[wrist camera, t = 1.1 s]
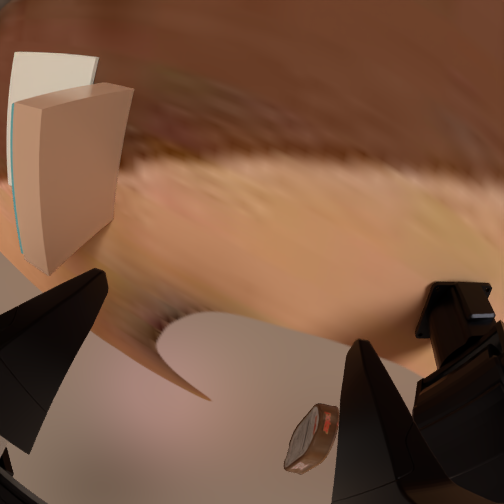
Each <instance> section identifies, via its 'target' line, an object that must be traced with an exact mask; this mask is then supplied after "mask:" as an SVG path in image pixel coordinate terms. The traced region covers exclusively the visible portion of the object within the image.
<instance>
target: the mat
mask: <svg viewBox="0 0 504 504" xmlns="http://www.w3.org/2000/svg"><path fill="white" fill-rule="evenodd" d="M98 60H99V57H92V56H83V55H74V54H62V53H45V52H15V54H14V60H13V66H12V73H11V81H10V89H9V100H8V115H7V169H8V184H9V185H11V186H12V179H11V158H10V130H11V109H12V104H13V103H14V102H17V101H21V100H24V99H28V98H31V97H35V96H39V95H43V94H47V93H51V92H55V91H60V90H65V89H69V88H74V87H80V86H85V85H91V84H93V82H94V77H95V73H96V68H97V64H98Z"/></svg>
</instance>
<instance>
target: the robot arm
mask: <svg viewBox="0 0 504 504" xmlns="http://www.w3.org/2000/svg"><path fill="white" fill-rule="evenodd" d="M437 287H439V288H438V289H436V288H437ZM491 290H492V287H491V285H490V284H489V283H474V282H436V283H434V284H433V285H432V287H431V290H430V293H429V296H428V299H427V302H426V305H425V307H424V310H423V313H422V315H421V318H420V321H419V323H418V326H417V328H416V331H415V336H416V338H430V340H431V344H432V348H433V352H434V357H435V361H436V366H437V370H436V371H435V372H433V373H432V374H430V375H429V376H427V377H426V378H422V379H421V380H419V381H418V382H417V388H416V396H415V402H414V407H413V411H412V416H411V414H410V412H409V410H408V408H407V406H406V405H405V403H404V401H403V399H402V397H401V395H400V394H399V392H398V390H397V388H396V387H395V385H394V383H393V381H392V380H391V378H390V376H389V374H388V372H387V371H386V369H385V367H384V366H383V364H382V362H381V360H380V358H379V357H378V355H377V353H376V352H375V350H374V348H373V347H372V345H371V343H370V342H369V341H368V340H365V339H357V340H356V341H355V342H354V344H353V345H352V347H351V348H350V350H349V351H348V353H347V356H346V362H345V369H344V376H343V383H342V390H341V398H340V415H339V432H338V446H337V457H336V468H335V478H334V486H333V494H332V503H331V504H504V323H503V322H502V321H501V320H499V321H498V322H497V323H496V321H495V319H494V318H495V313H494V311H493V309H492V307H491V305H490V303H489V301H488V297H489V295H490V292H491ZM107 293H108V283H107V278H106V273H105V272H104V271H103V270H100V269H97V268H94V269H92V270H89V271H87V272H85V273H83V274H81V275H79V276H77V277H75V278H73V279H71V280H68V281H66V282H64V283H62V284H60V285H58V286H56V287H54V288H52V289H50V290H48V291H46V292H44V293H42V294H40V295H38V296H36V297H34V298H32V299H30V300H28V301H26V302H24V303H22V304H21V305H19V306H17V307H15V308H13V309H11V310H9V311H7V312H5V313H3V314H1V315H0V504H47V503H46V502H45V501H43V500H42V499H40V498H39V497H38V496H36V495H35V494H33V493H32V492H31V491H29V490H28V489H27V488H25V487H24V486H23V485H22V484H20V483H19V482H18V481H17V480H15V479H14V478H13V474H14V473H13V470H12V466H11V462H10V458H9V454H8V450H7V448H6V445H7V443H8V442H10V443H12V444H13V445H15V446H16V447H18V448H19V449H21V450H22V451H24V452H25V453H27V454H30V452H31V450H32V447H33V444H34V442H35V440H36V437H37V435H38V432H39V430H40V428H41V426H42V423H43V421H44V419H45V417H46V415H47V412H48V410H49V408H50V406H51V403H52V401H53V399H54V397H55V395H56V393H57V391H58V389H59V387H60V385H61V383H62V381H63V379H64V377H65V375H66V373H67V371H68V369H69V367H70V365H71V364H72V362H73V360H74V358H75V356H76V354H77V352H78V351H79V349H80V347H81V345H82V344H83V342H84V340H85V338H86V336H87V335H88V333H89V331H90V329H91V328H92V326H93V324H94V322H95V319H96V317H97V315H98V313H99V311H100V308H101V306H102V304H103V302H104V300H105V298H106V296H107Z"/></svg>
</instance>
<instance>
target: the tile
mask: <svg viewBox="0 0 504 504" xmlns="http://www.w3.org/2000/svg"><path fill="white" fill-rule="evenodd" d="M133 92H134V89H132V88H128V87H124V86H120V85H115V84H111V83H106V82H104V83H98V84H91V85H85V86H80V87H74V88H69V89H65V90H60V91H55V92H51V93H47V94H43V95H39V96H35V97H31V98H28V99H24V100H21V101H17V102H14V103H13V104H12V109H11V130H10V158H11V179H12V192H13V202H14V211H15V218H16V225H17V232H18V238H19V243H20V249H21V253H22V254H23V255H24V259H25V260H26V261H27V262H29V263H30V264H32V265H33V266H34V267H36V268H37V269H39V270H40V271H42V272H43V273H45V274H46V275H48V276H50V275H51V274H52V273H53V272H54V271H55V270H56V269H57V268H58V267H59V266H61V265H62V264H63V263H64V262H65V261H66V260H67V259H68V258H69V257H70V256H71V255H72V254H73V253H75V252H76V251H77V250H78V249H79V248H80V247H81V246H82V245H84V244H85V243H86V242H87V241H88V240H89V239H90V238H92V237H93V236H94V235H95V234H96V233H97V232H99V231H100V230H101V229H102V228H103V227H104V226H106V225H107V224H108V223H109V222H111V221H112V220H113V217H114V206H115V196H116V187H117V179H118V172H119V165H120V158H121V152H122V146H123V140H124V135H125V129H126V124H127V119H128V114H129V110H130V105H131V101H132V97H133Z"/></svg>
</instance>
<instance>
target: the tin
mask: <svg viewBox="0 0 504 504" xmlns="http://www.w3.org/2000/svg"><path fill="white" fill-rule="evenodd" d="M338 425H339V410H338V407H336V406H329V405H325V404H319V403H318V404H316V405H314V406H313V408H312V409H311V410H310V411H309V412H308V414H307V415H306V416H305V417H304V418H303V420H302V421H301V422H300V423H299V424H298V425H297V427H296V429H295V431H294V433H293V435H292V437H291V440H290V443H289V449H288V452H287V456H286V459H285V461H284V469H285V470H286V471H289V472H294V473H298V474H300V475H301V474H304V473H305V472H307V471H309V470H311V469H312V468H314V467H316V466H317V465H319V464H321V463H322V462H323V461H324V460H325V458H326V457H327V455H328V454H329V452H330V450H331V448H332V446H333V443H334V441H335V438H336V434H337V430H338Z"/></svg>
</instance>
